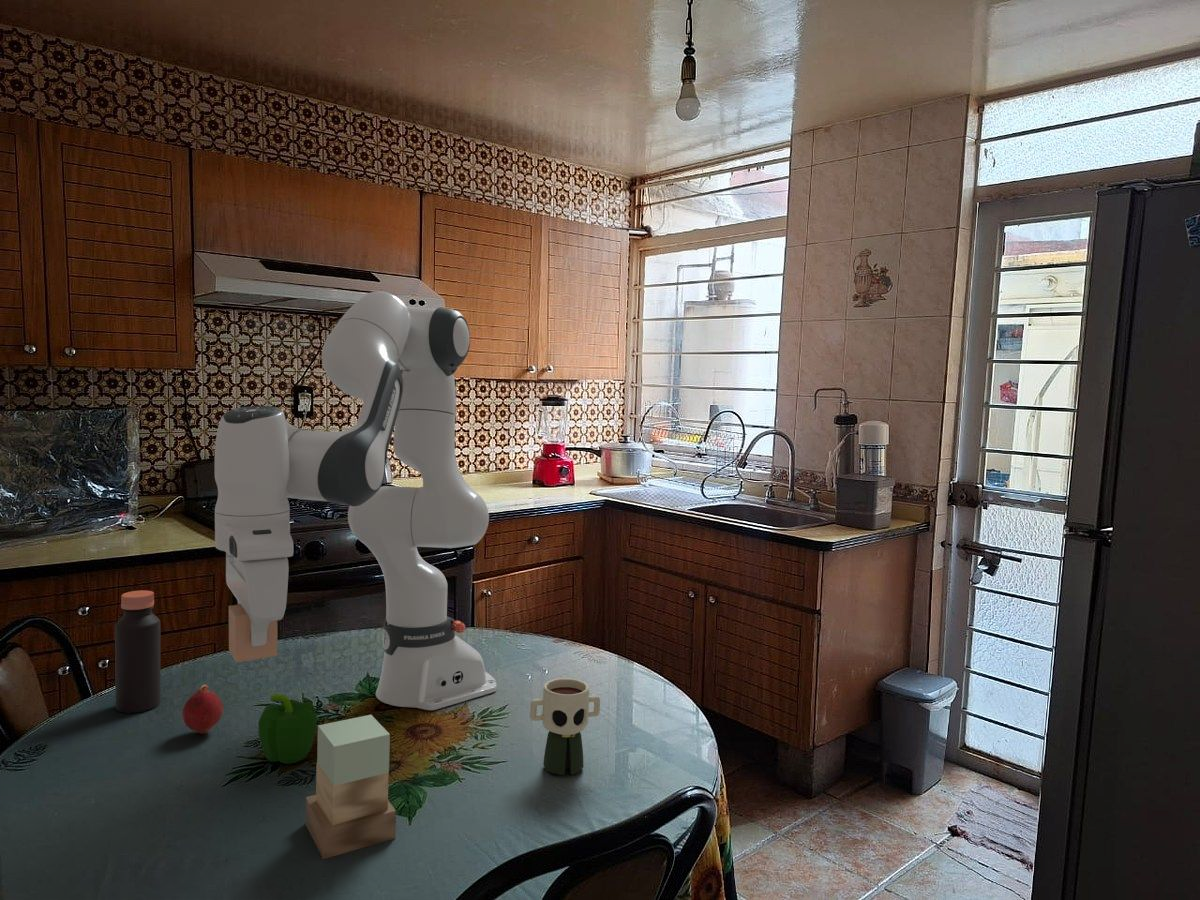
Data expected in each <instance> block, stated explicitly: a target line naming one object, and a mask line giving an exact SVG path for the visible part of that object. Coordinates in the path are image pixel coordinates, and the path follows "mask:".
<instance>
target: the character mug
mask: <svg viewBox="0 0 1200 900" xmlns="http://www.w3.org/2000/svg"><path fill="white" fill-rule="evenodd" d="M542 689H543V691H542V692H543V693H542V698H536V699H531V701H530V708H529V712H530V713H529V714H530V715H529V717H530V718H529V719H530V720H531V721H541V722H542V725H543V727H544V728H545V730H547V731H548V733H547V738H546V744H545V748H544V757H543V764H542V765H543V767H544V768H545V770H546V771H547V772H550V773H552V774H555V775H561V776H565V774H566V769H567V770H568V769H570V775H574V774H576V773H579V772H580V771H581V770H583V768H584V750H583V749H584V748H583V740H582V733H581V732H583V731H584V730H585V729H586V727H588V726H587V725H588V723H589V718H592V717H594V718H595V717H598V716H599V715H600V712H601V711H600V710H601V697H600V695H590V687H589V684H588V683H587V682H585V681H583V680H580V679H575V678H570V677H569V678H568V677H567V678H565V677H564V678H563V677H561V678H555V679H551V680H548V681H546V682H545V683H544V684H543V688H542ZM589 703H593V710H589V709H590V707H589ZM538 706H542V713H538V714H537V708H538Z"/></svg>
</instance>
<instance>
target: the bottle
mask: <svg viewBox="0 0 1200 900" xmlns="http://www.w3.org/2000/svg"><path fill="white" fill-rule="evenodd" d="M120 599H121V602H120V608H121V611H122V612H123V615H122V616H121V618H119V619H118V621H116V622H115V625H114V652H115V653H114V654H115V655H114V656H115V659H114V665H115V667H114V670H115V671H114V672H115V674H114V675H115V679H114V680H115V681H114V682H115V687H114V688H115V710H117V711H118V712H120V713H123V714H136V713H142V712H146V711H149V710H152V709H155V708H156V707H158V706H159V705H160V703H161V698H162V697H161V694H162V693H161V690H162V689H161V687H162V686H161V683H162V682H161V619H160V618H159V617H158V616H157V615H156V614H154V613H153V609H154V605H155V592H154V591H152V590H142V589H141V590H132V591H128V592H125V593H122V594H121V596H120Z"/></svg>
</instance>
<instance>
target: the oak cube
mask: <svg viewBox="0 0 1200 900" xmlns="http://www.w3.org/2000/svg"><path fill="white" fill-rule="evenodd" d="M315 765H316V766H315V767H316V769H315V770H316V774H315V776H316V777H315V787H316V788H315V795H316V801H317V803H318V804H319V806H320V807H321V809H322V810H323V812H324V813H325V815H326V816H327V818H328V819H329V821H330V822H331V824H332V825H336V824H340V823H343V822H347V821H350V820H354V819H357V818H360V817H364V816H367V815H371V814H374V813H378V812H381V811H385V810H388V800H389V772H390V771H389V772H388V773H384V774H380V775H376V776H372V777H368V778H364V779H360V780H356V781H352V782H348V783H344V784H340V785H336V786H333V785H332V783H331V782H330V780H329V779H328V778H327V776H326V775H325V773H324V772H323V770H322V769H321V768H320V766H319V765H318V763H317V762H316V764H315Z"/></svg>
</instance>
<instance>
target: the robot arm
mask: <svg viewBox="0 0 1200 900" xmlns="http://www.w3.org/2000/svg"><path fill="white" fill-rule="evenodd" d="M470 346H471V332H470V328H469V324H468V321H467V319H466V318H465V317H464V315H463V314H462V313H461V312H460V311H459V310H455V309H453V308H448V307H438V308H433V307H424V306H423V307H421V306H406V304H405V303H404V301H403V300H401V299H400V297H397V296H396V295H394V294H392V293H391V292H386V291H379V290H378V291H372V292H369V293H366V294H365V295H363V296H361V298H359V299H358V300H356V302H355V303H354V304H353V305H351V306H350V308H349V309H348V310H346V312H345V313H344V314H343V315H342V317H341V318H340V319H339V320H338V322H337V323H336V324H335V326H334V328H332V329H331V332H330V333H329V335H328V336H327V338H326V340H325V342H324V344H323V347H322V351H321V363H322V366H323V369H324V372H325V374H326V376H327V377H328V379H329V380H330V382H332V384H333V385H334V386H335V387H337V388H338V389H339V390H340V391H341V392H343V393H344V394H346V395H349V396H350V397H353V398H356V399H358V400H361V401H363V403H362V406H361V409H360V412H359V416H358V419H357V421H356V424H355V425H354V426H353V427H351V428H349V429H348V428H347V429H346V430H340V431H328V430H327V431H326V430H325V431H324V430H310V429H299V427H297V426H295V425H292V424H291V423H290V422H288V421H287V419H286V416H285V413H284V410H283V409H281V408H279V407H275V406H271V405H270V406H269V405H252V406H242V407H236V408H233V409H231V410H228V411H227V412H226V413H224V414H222V416H221V418H220V420H219V423H218V427H217V431H216V436H215V437H216V438H215V447H214V480H215V483H216V487H217V500H216V503H215V507H214V531H215V532H214V547H215V549H217V550H219V551H221V552H225V581H226V585H227V587H228V588H229V590H230V591H231V593H232V595H233V596H234V597H235V599H236V600H237V605H240V604H241V606H242V607H243V609H244V610H245V611H246V613H247V614H248V616H249V617H250V620H251V630H250V642H251V644H252V645H253V646H261V645H265V644H266V642H267V630H268V626H269V622H271V621H277V622H278V621H281V620H283V617H284V615H285V613H286V612H285V611H286V609H287V599H288V598H287V597H288V585H289V583H288V582H289V570H290V569H289V568H290V567H289V559H288V558H290V557H293V556H294V551H295V550H294V541H293V538H292V537H293V536H292V535H291V524H290V518H291V517H290V516H291V515H290V510H291V509H290V502H289V500H288V498H290V499H297V500H303V501H304V500H306V501H316V502H317V501H321V502H329V503H332V504H333V503H334V504H339V505H344V506H348V510H347V522H348V526H349V528H350V531H351V532H352V535H354V537H355V538H356V539H357V540H358V541H360V543H362V544H364V546H366V547H367V548H368V550H369V551H370V552H371V553H372V554H373V556H374V558H376V559H375V560H377V563H378V565H379V566H380V568H381V571H382V575H383V579H384V585H385V586H384V587H385V598H386V599H385V600H386V601H385V603H386V604H385V605H386V606H385V607H386V608H385V610H386V612H385V614H386V615H385V618H384V619H383V631H382V649H383V651H384V652H383V661H382V668H381V673H380V676H379V677H380V678H379V682H378V685H377V688H376V691H375V697H376V699H377V700H379V701H380V702H381V703H384V704H386V705H387V704H388V705H390V706H395V707H401V708H417V709H420V710H426V711H436V710H438V709H443V708H445V707H449V706H452V705H455V704H459V703H462V702H466V701H468V700H473V699H475V698H478V697H482V696H486V695H488V694H492V693H494V692H496V691H497V680H496V679H495V678H494V677H493V675H491V674H490V673H489V672H487V671H486V668H485V664H484V658H483V657H482V656H481V654H480V653H479V651H477V650H476V649H475V648H474V647H473V646H471V645H470V644H468V643H467V642H465V641H464V640H463V639H462V638H460V637H459V636H457V635H456V633H457V634H462V633H464V631H465V630H466V624H465V623H464V622H462V621H460V620H456V619H453V618H452V617H451V616H450V617H449V616H448V615H447V614H448V581H447V579H446V576H445V575H444V573H443V572H442V571H441V570H440V569H439V568H437V567H435V566H434V565H432V564H430V563H428V562H427V561H425V560H424V559H423V558H422V556H421V555H420V553H419V550H418V548H419V547H421V548H442V549H445V548H446V549H453V548H454V549H456V548H463V547H469V546H474V545H476V544H478V543H479V542H480V541H481V540H482V539H483V537H484V536H485V534H486V532H487V530H488V527H489V523H490V522H489V521H490V514H489V510H488V509H489V508H488V507H487V504H486V502H485V500H484V499H483V498H482V496H481V495H479V494H478V493H477V492H476V491H475V490H474V489H473V488H472V487H471V486H470V485H469V483H467V481H466V479H465V478H464V476H463V474H462V473H461V471H460V468H459V466H458V462H457V457H456V448H455V447H456V446H455V445H456V443H455V442H456V441H455V440H456V439H455V436H456V435H455V434H456V433H455V431H456V430H455V429H456V413H457V411H456V410H457V396H456V395H457V393H456V380H455V376H454V375H455V373H456V371H457V369H458V368H459V367H460V366H461V365H462V363H463V362H464V361H465V360H466V358H467V355H468V353H469V351H470V348H471V347H470ZM392 436H393V446H392V447H393V448H392V449H393V452H394V455H395V456H396V458H397V459H398V460H399V461H400V462H402V463H403V464H405V465H406V466H408V467H409V468H411V469H413V470H414V471H417V472H418V473H420V475H421V478H422V486H420V487H417V486H416V487H415V486H397V485H396V486H392V485H390V486H389V485H386V486H385V485H384V486H382V485H383V483H384V479H385V475H386V467H387V458H388V452H389V448H390V443H391V440H392Z"/></svg>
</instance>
